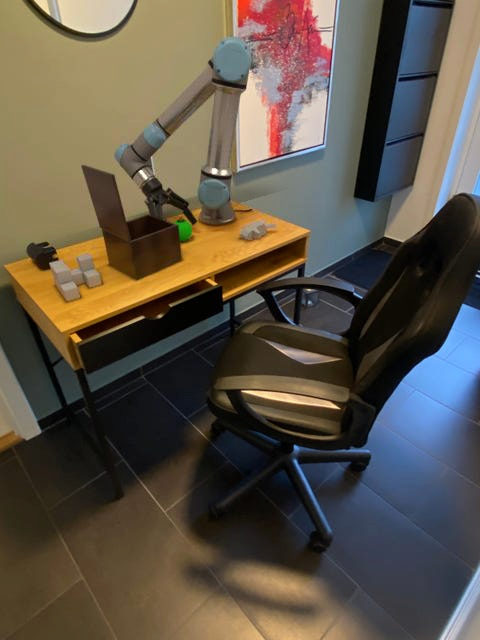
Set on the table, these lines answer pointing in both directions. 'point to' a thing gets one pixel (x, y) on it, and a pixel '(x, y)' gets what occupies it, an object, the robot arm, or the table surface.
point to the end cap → (42, 254)
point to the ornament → (184, 229)
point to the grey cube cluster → (75, 276)
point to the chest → (144, 246)
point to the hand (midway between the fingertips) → (185, 229)
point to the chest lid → (106, 201)
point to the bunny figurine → (255, 230)
